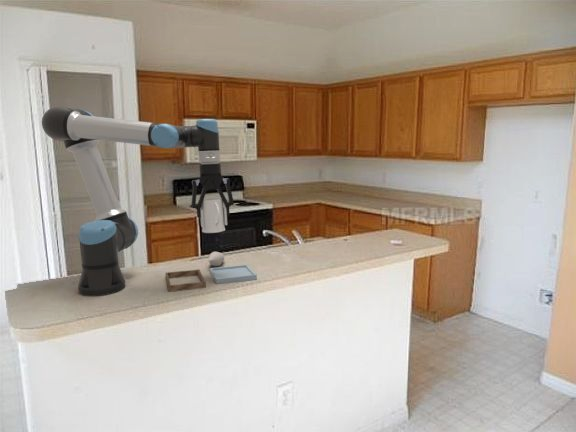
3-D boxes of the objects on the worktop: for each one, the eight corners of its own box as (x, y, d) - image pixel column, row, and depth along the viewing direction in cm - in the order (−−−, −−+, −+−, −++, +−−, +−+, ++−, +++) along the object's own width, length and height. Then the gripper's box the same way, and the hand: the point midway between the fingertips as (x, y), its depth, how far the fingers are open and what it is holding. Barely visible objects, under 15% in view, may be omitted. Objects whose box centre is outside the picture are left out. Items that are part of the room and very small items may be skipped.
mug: (230, 232, 153) (228, 199, 151) (206, 235, 149) (204, 201, 148) (222, 227, 163) (219, 196, 162) (199, 230, 160) (197, 198, 158)
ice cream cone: (207, 271, 168) (219, 267, 183) (218, 262, 167) (230, 258, 182) (198, 259, 168) (211, 256, 183) (209, 250, 168) (221, 247, 182)
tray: (216, 284, 153) (216, 279, 153) (209, 272, 167) (209, 268, 167) (256, 279, 158) (256, 274, 158) (247, 268, 172) (247, 264, 172)
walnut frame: (168, 291, 146) (168, 286, 145) (165, 277, 161) (165, 272, 161) (205, 287, 150) (205, 281, 149) (199, 274, 165) (199, 269, 165)
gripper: (181, 164, 146) (186, 230, 149) (240, 162, 152) (244, 224, 156) (179, 164, 153) (184, 226, 157) (236, 161, 159) (239, 221, 163)
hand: (214, 225), depth 156 cm, fingers closed on mug, 8 cm apart
